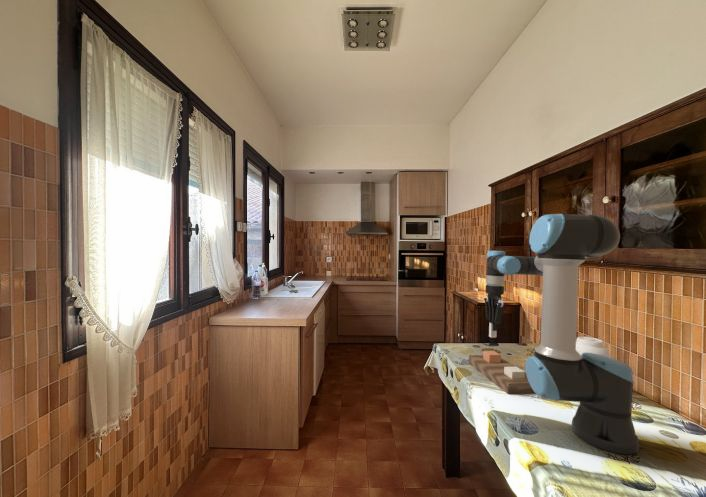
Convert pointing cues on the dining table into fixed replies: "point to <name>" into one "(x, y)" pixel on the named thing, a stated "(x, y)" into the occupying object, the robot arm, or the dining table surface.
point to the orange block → (491, 356)
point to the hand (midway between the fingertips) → (492, 337)
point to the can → (591, 346)
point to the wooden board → (501, 375)
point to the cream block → (514, 372)
